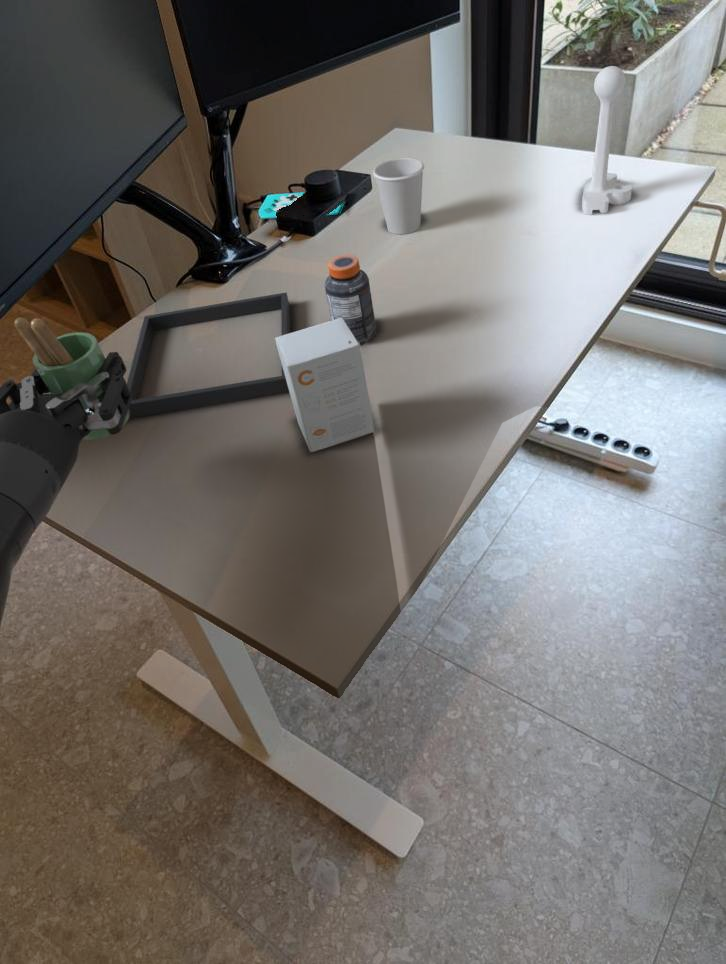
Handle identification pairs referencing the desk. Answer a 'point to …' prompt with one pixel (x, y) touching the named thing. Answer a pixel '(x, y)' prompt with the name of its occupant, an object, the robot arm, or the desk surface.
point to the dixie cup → (400, 193)
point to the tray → (213, 393)
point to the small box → (326, 383)
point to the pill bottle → (350, 297)
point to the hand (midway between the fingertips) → (86, 361)
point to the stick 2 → (51, 341)
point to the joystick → (605, 148)
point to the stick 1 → (35, 342)
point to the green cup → (76, 370)
